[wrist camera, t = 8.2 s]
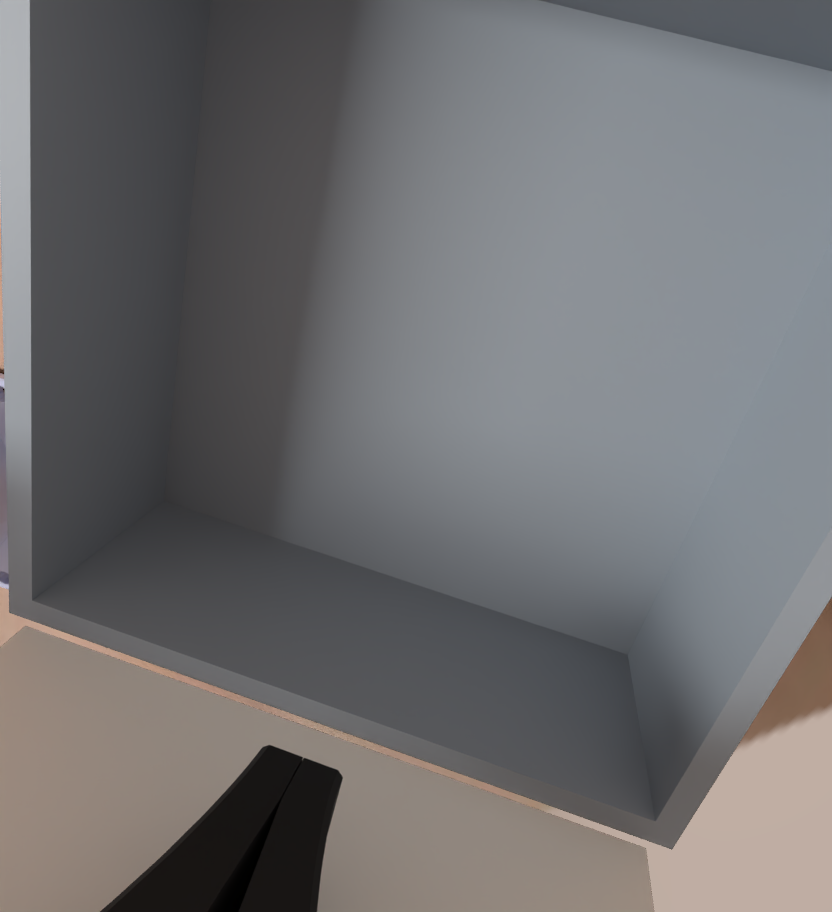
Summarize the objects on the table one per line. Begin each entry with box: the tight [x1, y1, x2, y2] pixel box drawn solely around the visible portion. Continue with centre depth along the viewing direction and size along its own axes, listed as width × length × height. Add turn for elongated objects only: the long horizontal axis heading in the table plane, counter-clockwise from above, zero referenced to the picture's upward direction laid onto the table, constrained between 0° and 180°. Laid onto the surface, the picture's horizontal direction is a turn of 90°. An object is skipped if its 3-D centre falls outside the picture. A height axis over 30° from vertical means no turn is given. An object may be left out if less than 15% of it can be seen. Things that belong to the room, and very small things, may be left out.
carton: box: [0, 0, 832, 849], centre depth 14 cm, size 16×16×6 cm
